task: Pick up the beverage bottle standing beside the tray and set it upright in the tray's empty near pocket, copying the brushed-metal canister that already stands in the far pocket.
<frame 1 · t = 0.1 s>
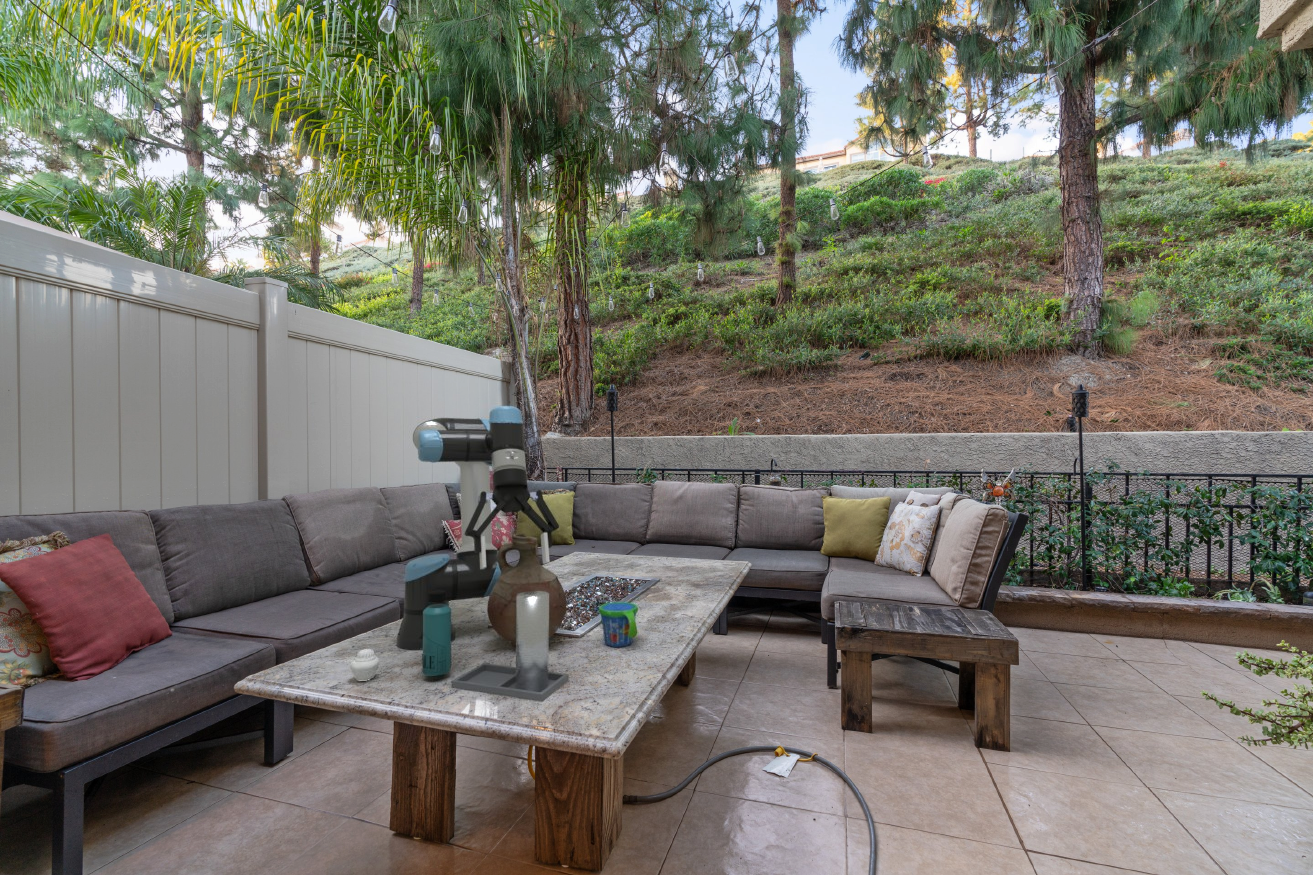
hand: (515, 565, 121), 28 cm above the table, tool tilted 20°, fingers open, 13 cm apart
jug: (526, 644, 155), on the table
snack cup: (618, 644, 155), on the table
canister: (532, 686, 122), point 1 cm above the table, touching tray
beverage bottle: (436, 678, 130), on the table
tray: (510, 688, 124), on the table
white lidded jar: (365, 680, 129), on the table
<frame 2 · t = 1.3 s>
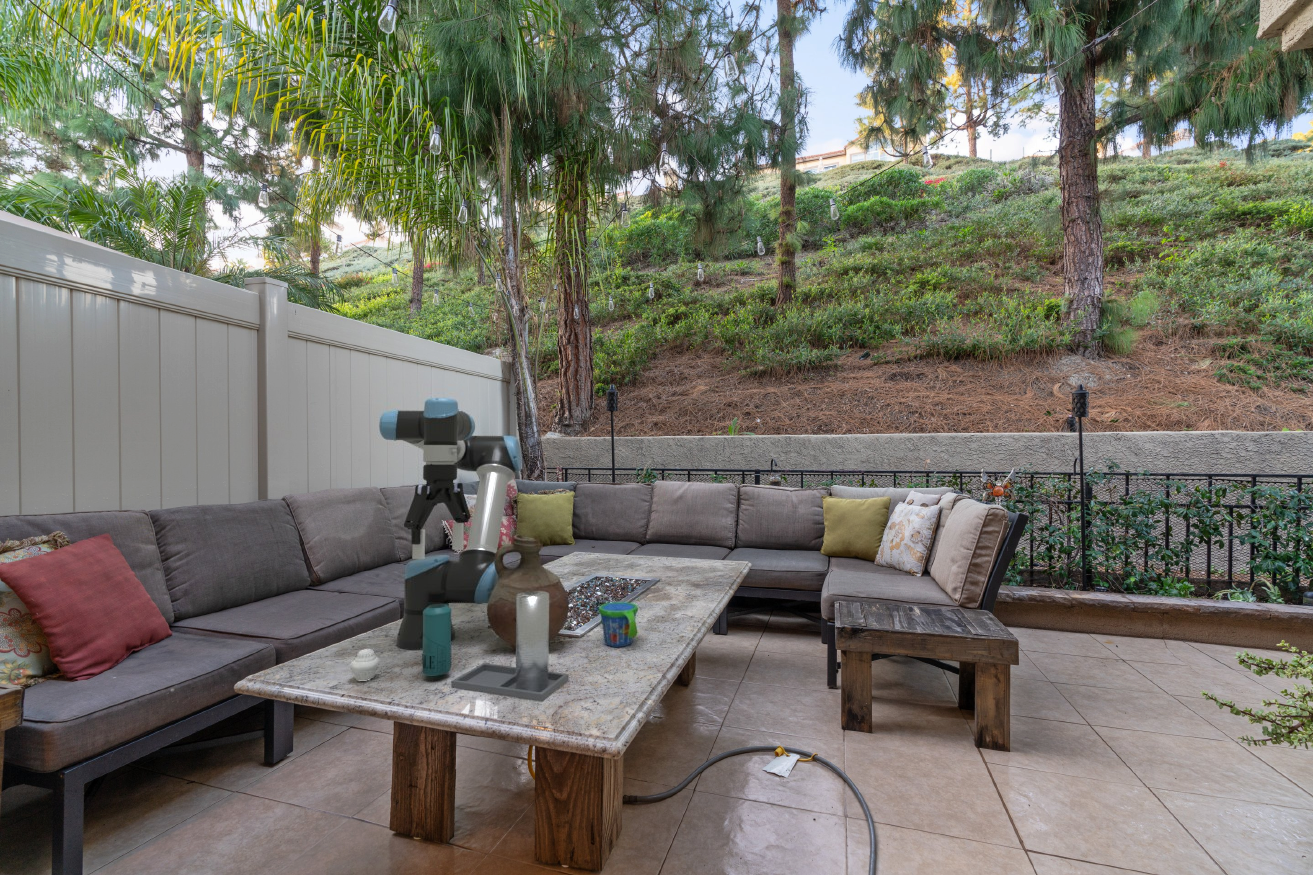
hand: (439, 554, 132), 29 cm above the table, tool pointing down, fingers open, 13 cm apart
jug: (528, 645, 152), on the table, touching arm
everything else where it was.
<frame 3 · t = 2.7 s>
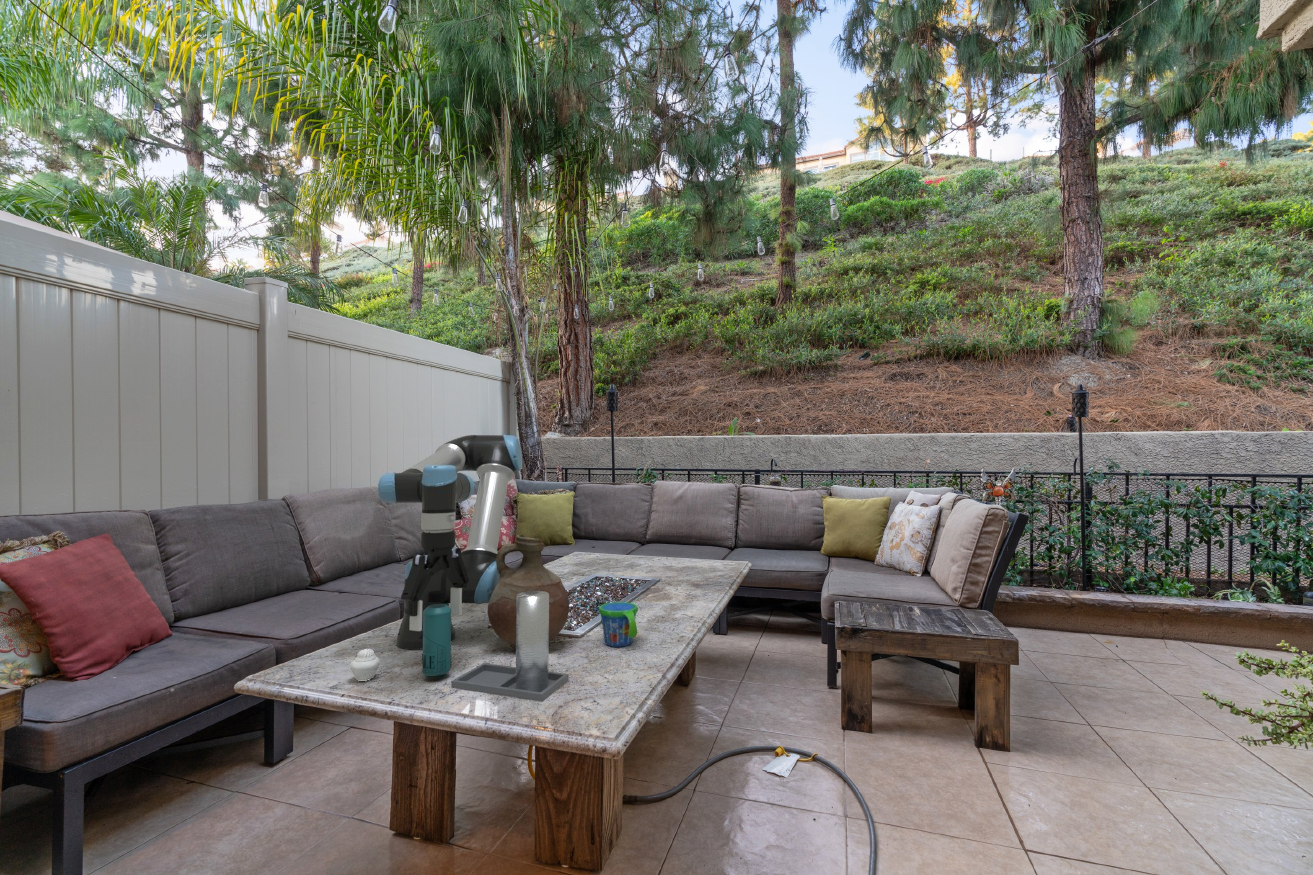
hand: (436, 622, 131), 13 cm above the table, tool pointing down, fingers open, 13 cm apart
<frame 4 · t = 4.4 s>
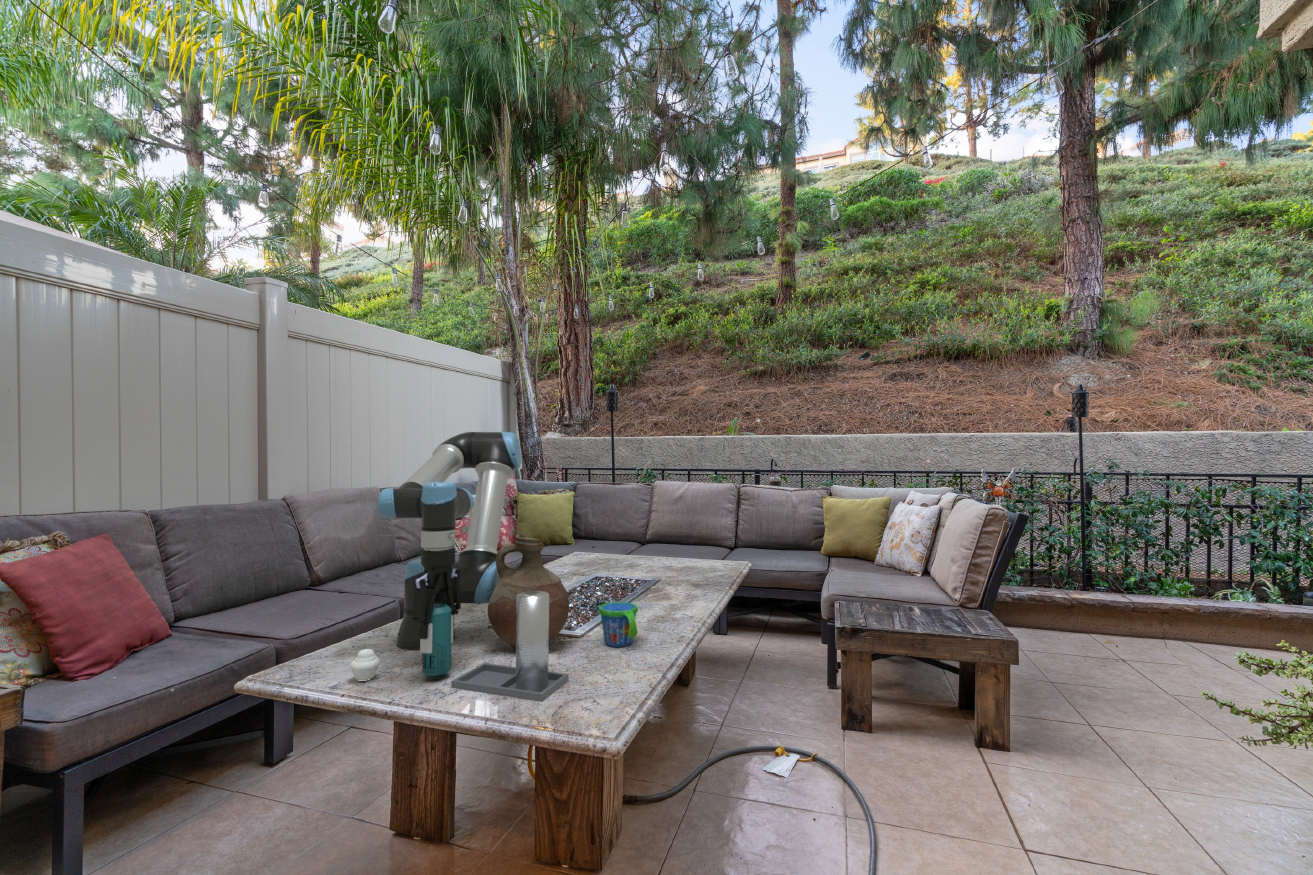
hand: (436, 647, 131), 7 cm above the table, tool pointing down, fingers closed on beverage bottle, 6 cm apart
beverage bottle: (436, 678, 130), on the table, touching gripper
everything else where it was.
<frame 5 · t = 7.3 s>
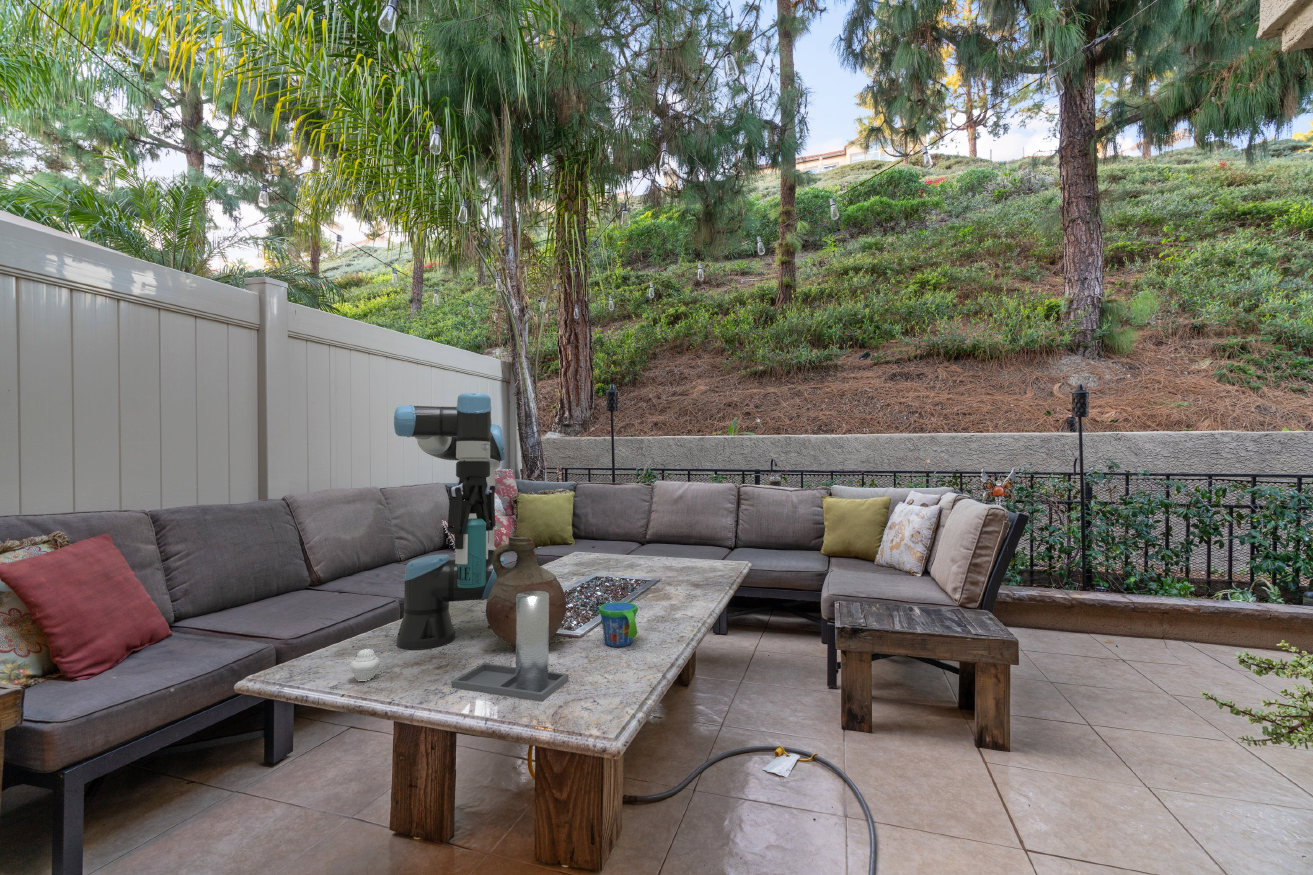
hand: (472, 561, 128), 28 cm above the table, tool pointing down, fingers closed on beverage bottle, 6 cm apart
jug: (527, 645, 153), on the table
beverage bottle: (471, 592, 127), point 20 cm above the table, touching gripper
everything else where it was.
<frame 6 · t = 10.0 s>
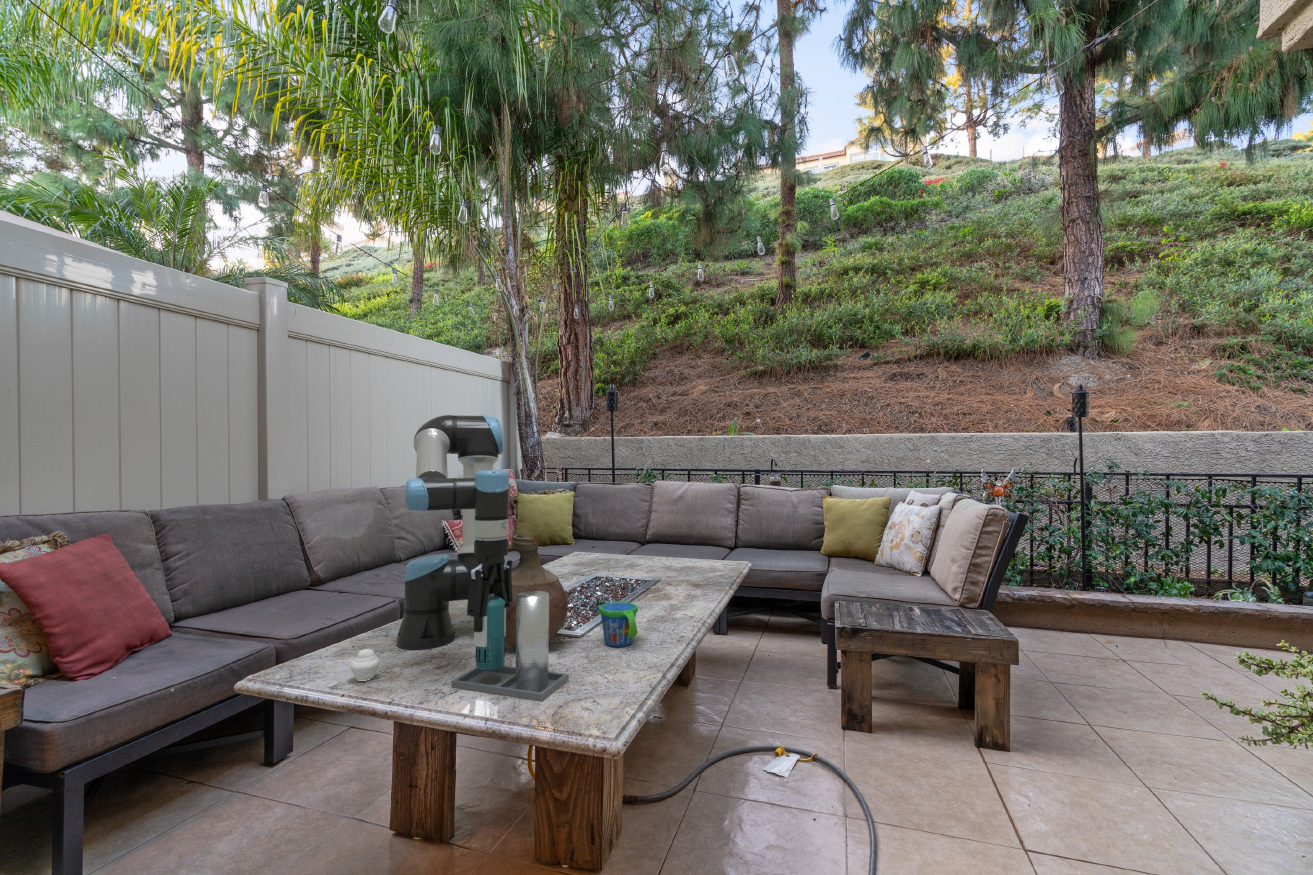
hand: (490, 640, 126), 10 cm above the table, tool pointing down, fingers closed on beverage bottle, 6 cm apart
beverage bottle: (489, 673, 126), point 3 cm above the table, touching gripper
when the fingers open (9 cm above the table, at t = 10.9 s): beverage bottle drops 1 cm, resting on tray.
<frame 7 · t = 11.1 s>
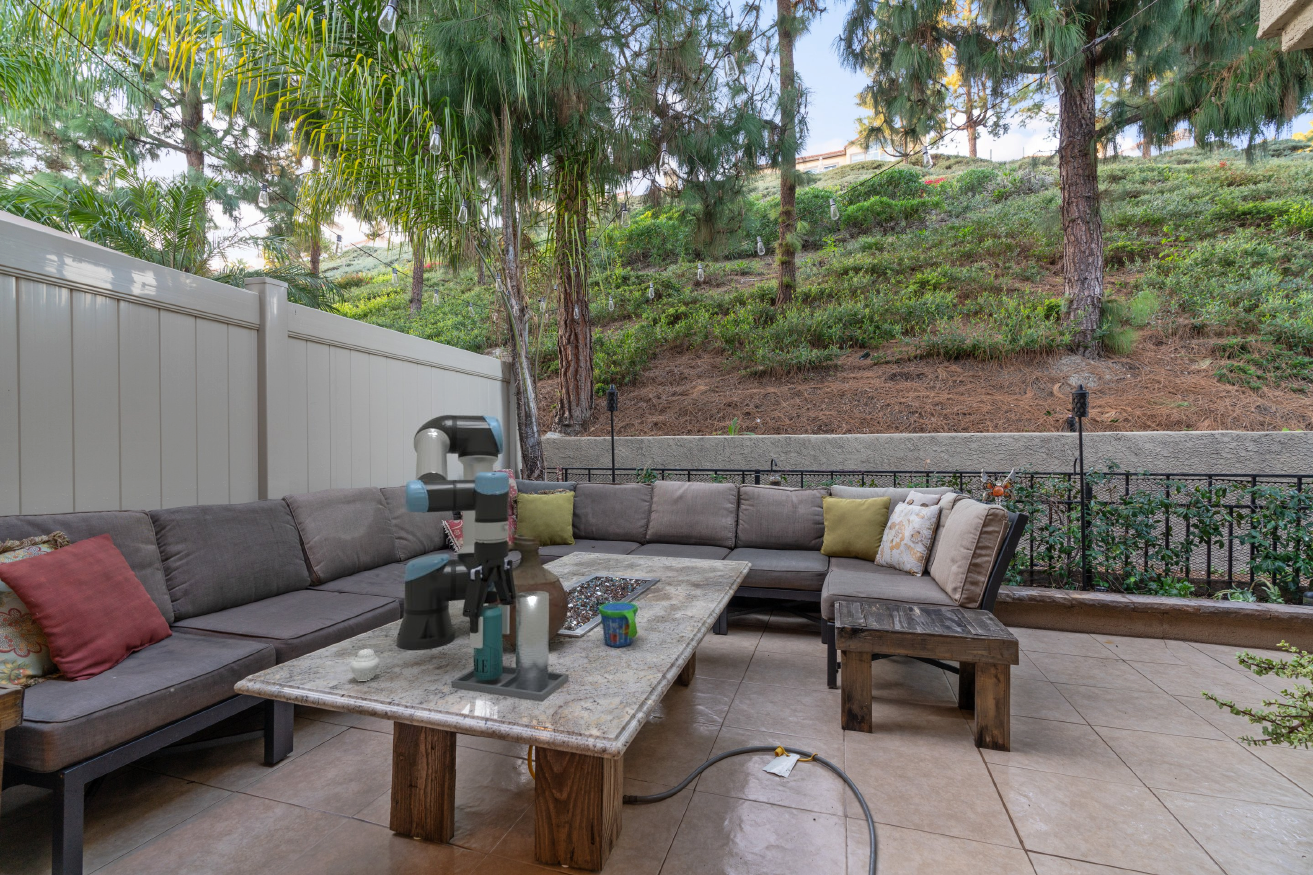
hand: (490, 639, 126), 10 cm above the table, tool pointing down, fingers open, 9 cm apart
beverage bottle: (488, 682, 125), point 1 cm above the table, touching tray
everything else where it was.
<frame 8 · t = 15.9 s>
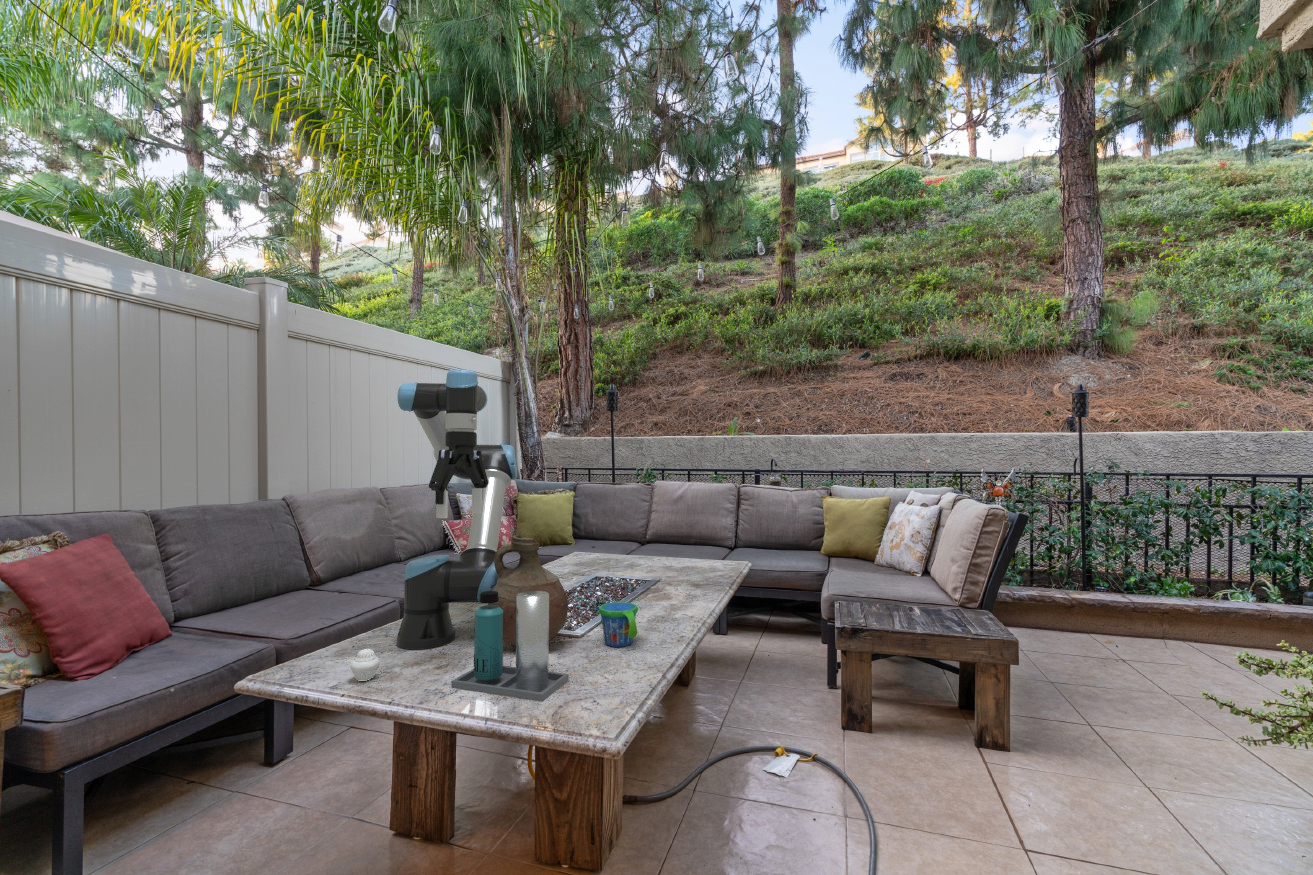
hand: (460, 515, 141), 37 cm above the table, tool pointing down, fingers open, 13 cm apart
jug: (528, 646, 153), on the table, touching arm
everything else where it was.
at the end: beverage bottle inside the target area on the tray (0.6 cm from its centre), point 0.8 cm above the tray's base; beverage bottle tilted 0°; canister moved 0.0 cm from its start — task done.
